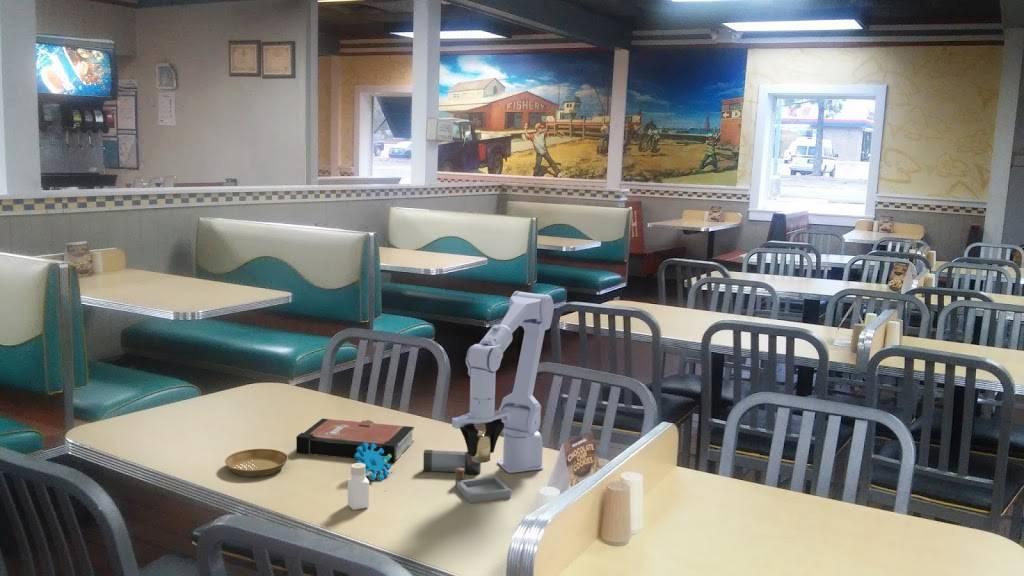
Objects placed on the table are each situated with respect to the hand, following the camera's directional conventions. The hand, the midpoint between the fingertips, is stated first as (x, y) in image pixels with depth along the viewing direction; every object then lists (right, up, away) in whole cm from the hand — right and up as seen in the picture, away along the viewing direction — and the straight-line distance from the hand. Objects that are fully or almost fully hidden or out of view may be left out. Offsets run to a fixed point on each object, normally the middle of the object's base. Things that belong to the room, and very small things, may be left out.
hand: (480, 453), depth 203 cm
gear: (-26, -7, +9) cm, 29 cm away
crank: (-8, -7, +14) cm, 17 cm away
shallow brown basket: (-55, -6, +12) cm, 57 cm away
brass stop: (0, -1, 0) cm, 1 cm away
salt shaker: (-27, -10, -9) cm, 30 cm away
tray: (+1, -9, +1) cm, 9 cm away
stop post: (-5, -9, +5) cm, 11 cm away
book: (-34, -4, +29) cm, 44 cm away
